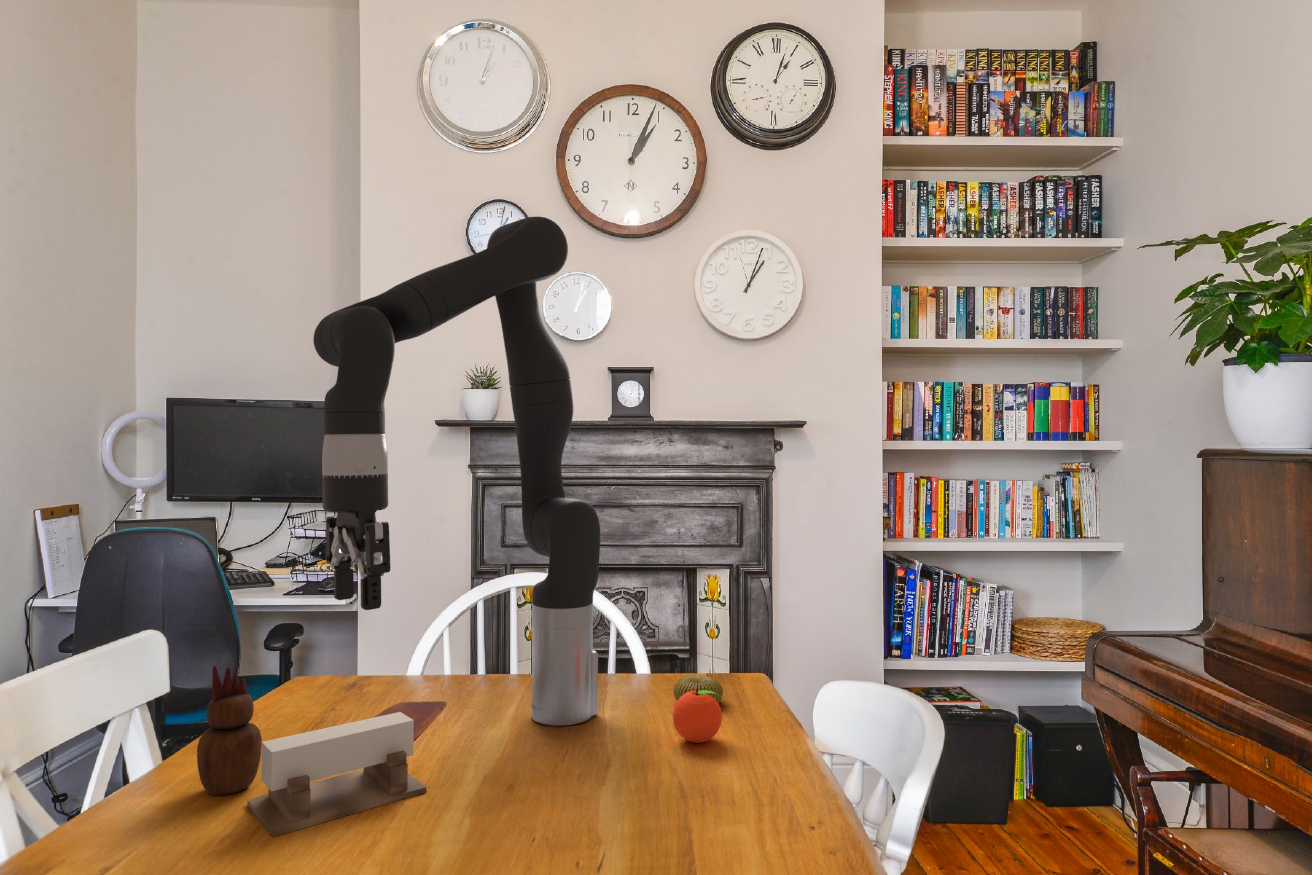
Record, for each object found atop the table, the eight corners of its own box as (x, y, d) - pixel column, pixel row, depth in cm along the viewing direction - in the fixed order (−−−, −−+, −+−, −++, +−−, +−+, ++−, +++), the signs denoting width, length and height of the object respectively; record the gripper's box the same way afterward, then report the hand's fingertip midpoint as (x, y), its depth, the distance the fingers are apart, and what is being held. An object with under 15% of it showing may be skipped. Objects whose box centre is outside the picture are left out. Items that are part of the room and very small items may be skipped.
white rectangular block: (399, 745, 99) (400, 711, 99) (413, 754, 96) (413, 719, 96) (261, 779, 89) (261, 741, 89) (271, 791, 86) (272, 752, 86)
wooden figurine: (195, 804, 91) (197, 672, 91) (197, 785, 96) (199, 660, 96) (261, 792, 94) (263, 665, 94) (260, 775, 99) (262, 654, 99)
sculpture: (728, 674, 130) (715, 688, 123) (728, 699, 130) (715, 714, 123) (682, 670, 133) (666, 683, 126) (682, 694, 133) (666, 708, 125)
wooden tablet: (385, 772, 102) (386, 759, 102) (310, 769, 102) (311, 756, 102) (456, 705, 128) (456, 695, 128) (396, 703, 129) (396, 693, 129)
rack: (392, 766, 102) (392, 728, 102) (426, 791, 94) (426, 751, 94) (247, 804, 91) (247, 762, 91) (272, 836, 83) (273, 790, 83)
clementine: (715, 728, 116) (714, 679, 116) (737, 744, 110) (737, 693, 110) (664, 736, 113) (664, 686, 113) (685, 753, 107) (685, 699, 107)
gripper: (410, 471, 95) (411, 607, 95) (362, 469, 105) (364, 591, 105) (346, 474, 90) (348, 617, 90) (304, 471, 100) (305, 600, 100)
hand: (357, 603), depth 97 cm, fingers open, 8 cm apart
